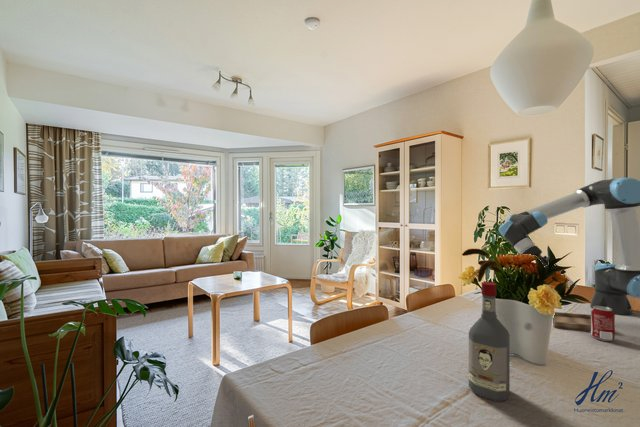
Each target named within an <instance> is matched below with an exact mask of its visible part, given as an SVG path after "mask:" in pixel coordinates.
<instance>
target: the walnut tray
mask: <svg viewBox="0 0 640 427" xmlns="http://www.w3.org/2000/svg"><path fill="white" fill-rule="evenodd" d="M554 312H555V315H554V318H553V326H552V327H553V328H555V329H564V330H573V331H574V330H575V331H585V332H591V314H586V313H571V312H560V311H554Z"/></svg>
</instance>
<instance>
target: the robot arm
mask: <svg viewBox="0 0 640 427" xmlns="http://www.w3.org/2000/svg"><path fill="white" fill-rule="evenodd" d="M597 205H603V206H604V210H606V211H607V212H609V214H610V220H611V226H612V231H613V232H612V233H613V239H614V244H615V249H616V250H615V251H616V255H617V256H616V257H617V261H618V263H596V264H595V267H594V293H593V296H592V298H591V299H590V302H589V306H590V308H591V309H593V306H603V307H608V308H611V309H612V312H613V313H614V314H615V315H624V316H625V315H626V316H627V315H632V314H633V308H632V305H631V303H630V300H629V297H628V296H630V297H633V298H639V299H640V222H639V218H638V217H639V216H638V211H637V210H638V209H639V208H640V180H638V179H636V178H634V177H617V178H612V179H611V178H610V179H602V180H598V181H594V182H593V183H591V184H587V185H585V186H583V187H581V188H578V189H575V190H574V191H573V193H571V194H568V195H565V196H562V197H560V198H557V199H554V200H552V201H549V202H547V203H544V204H541V205H539V206H536V207H533V208H531V209H528V210H525V211H523V212H520V213H517V214H515V213H513V214H510V215H509V216H508V217H507V219H506V222H504V223H502V224H501V225H500V226H499V228H498V232H499V234H500V235H501V236H502V237H503V238H504V239H505V240H506V241H507V243H509V244H510V245H511V246H512V247H513V248H514V249H515V252H518V254H519V255H522V254H531V255H536V256H537V257H538V258H539V259H540V260H541V262H542V263H543V265H544V266H546V265H548V258H549V257H548V256H547V255H544V256H542V253H543V251H542V250H541V249H540V248H539V246H537V245H536V244H535V242H533V240H532V239H530V237H528V236H529V235H531V234H532V233H534V232H536V231H537V230H539V229H541V228H543V227H544V226H545V225H547V224H548V220H549V219H551V218H554V217H559V216H560V215H563V214H566V213H568V212H571V211H573V210H577V209H580V208H585V209H586V208H588V207H591V206H597ZM555 265H556V266H559V265H558V264H557V263H555ZM566 273H567V271H566V270H565V269H563V270H562V271H561V274H563V275H565V276H566V277H567V278H568V279H569V282H568V286H567V287H568V288H569V287H570V285H572V284H573V283H575V282H574V281H573V280H572V279H571V278H570V277H569V276H568V275H567V274H566ZM577 287H578V285H577V283H575V286H574V288H573V289H575V288H577ZM590 303H591V304H590Z"/></svg>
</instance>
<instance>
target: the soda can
mask: <svg viewBox="0 0 640 427" xmlns="http://www.w3.org/2000/svg"><path fill="white" fill-rule="evenodd" d="M590 315H591V331H590V335H591V337H593V338H594V339H596V340H599V341H602V342H613V341H615V338H616V336H615V335H616V332H615V331H616V330H615V328H616V326H615V323H616V321H615V320H616V319H615V318H616V314H614V313H613V312H612V309H611V308H608V307H603V306H593V308H591V309H590Z"/></svg>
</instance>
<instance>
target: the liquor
mask: <svg viewBox="0 0 640 427" xmlns="http://www.w3.org/2000/svg"><path fill="white" fill-rule="evenodd" d="M480 294H481V295H482V296H481V299H482V300H481V301H482V302H481V306H482V307H481V308H482V309H481V314H480V318H478V319H477V321H476V322H474V324H473V325H472V326H471V327H470V329H469V330H468V387H469V389H470V388H471V389H472V390H473V391H472V390H471V389H470V390H471V391H472V392H473V393H474V394H475V395H476V394H478V395H477V396H479V395H481V396H480V397H482V396H484V397H487V398H489V399H488V400H490V399H492V400H491V401H493V400H495V401H494V402H503V401H502V400H505V401H506V400H507V398H508V395H509V393H510V389H511V388H510V387H511V386H510V384H511V383H510V376H511V374H510V368H511V367H510V365H511V364H510V359H511V358H510V349H511V348H510V344H511V343H510V340H511V339H510V336H511V335H510V333H509V331H508V329H507V328H506V327H505V326H504V324H503V323H502V322H501V321H500V320H499V319H498V318H497V316H498V315H497V311H496V310H497V308H496V307H497V306H496V303H497V302H496V296H497V283H495V282H489V281H483V282H481V293H480ZM484 397H483V398H484ZM487 398H486V399H487Z"/></svg>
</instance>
